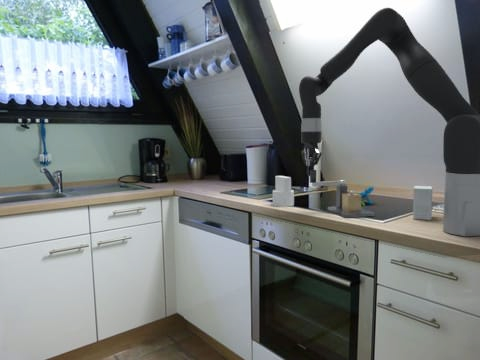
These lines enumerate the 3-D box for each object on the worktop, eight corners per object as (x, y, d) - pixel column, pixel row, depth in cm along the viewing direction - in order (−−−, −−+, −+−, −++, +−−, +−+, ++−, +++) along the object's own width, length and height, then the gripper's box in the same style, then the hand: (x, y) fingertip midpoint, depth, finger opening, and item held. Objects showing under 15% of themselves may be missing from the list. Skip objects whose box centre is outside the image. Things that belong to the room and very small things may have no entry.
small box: (431, 220, 117) (432, 189, 116) (412, 219, 120) (413, 188, 119) (430, 215, 124) (432, 186, 123) (413, 214, 127) (414, 185, 126)
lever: (343, 184, 139) (343, 168, 139) (347, 185, 136) (348, 168, 136) (308, 186, 136) (308, 169, 136) (311, 187, 133) (312, 170, 132)
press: (374, 216, 125) (374, 190, 124) (344, 218, 124) (345, 191, 123) (353, 207, 141) (353, 184, 140) (326, 209, 139) (326, 185, 138)
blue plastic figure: (362, 197, 156) (375, 182, 149) (371, 207, 154) (385, 193, 147) (347, 203, 150) (360, 189, 143) (356, 214, 147) (370, 200, 140)
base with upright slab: (269, 203, 154) (268, 176, 153) (287, 202, 157) (287, 175, 156) (278, 207, 146) (278, 178, 144) (297, 205, 149) (297, 177, 148)
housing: (361, 211, 128) (361, 191, 128) (348, 212, 128) (348, 192, 127) (354, 208, 133) (355, 189, 133) (342, 209, 133) (342, 190, 132)
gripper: (329, 130, 130) (327, 177, 133) (312, 130, 143) (311, 173, 145) (310, 130, 128) (309, 178, 131) (294, 130, 141) (294, 174, 143)
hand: (310, 175), depth 138 cm, fingers closed
